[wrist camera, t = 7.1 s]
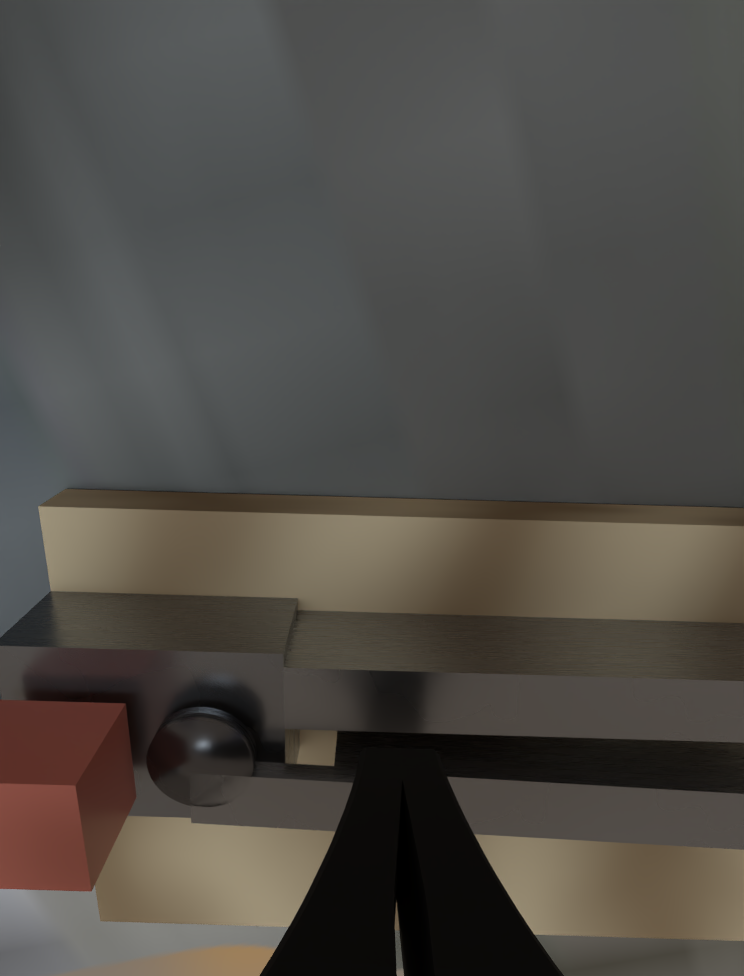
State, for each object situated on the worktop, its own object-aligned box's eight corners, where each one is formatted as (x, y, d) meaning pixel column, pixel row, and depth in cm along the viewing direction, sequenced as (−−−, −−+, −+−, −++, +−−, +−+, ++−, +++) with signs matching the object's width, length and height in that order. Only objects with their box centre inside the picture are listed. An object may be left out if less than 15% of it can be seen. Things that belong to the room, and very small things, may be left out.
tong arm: (811, 677, 14) (905, 762, 11) (779, 774, 15) (860, 873, 12) (186, 640, 14) (143, 717, 11) (189, 740, 15) (150, 832, 12)
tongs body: (816, 613, 14) (895, 672, 12) (775, 760, 15) (840, 837, 13) (51, 590, 14) (-9, 645, 12) (73, 739, 15) (23, 812, 13)
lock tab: (125, 703, 12) (74, 785, 10) (136, 796, 12) (91, 891, 10) (-3, 699, 12) (-78, 780, 10) (15, 793, 12) (-52, 886, 10)
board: (846, 511, 14) (887, 530, 13) (737, 899, 18) (762, 941, 17) (65, 488, 14) (38, 506, 13) (118, 880, 18) (100, 921, 17)
